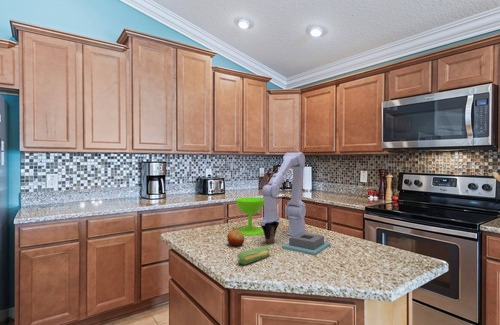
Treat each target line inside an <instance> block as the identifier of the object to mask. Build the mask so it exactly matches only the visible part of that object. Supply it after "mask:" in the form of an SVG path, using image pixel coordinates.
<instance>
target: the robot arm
mask: <svg viewBox="0 0 500 325" xmlns="http://www.w3.org/2000/svg"><path fill="white" fill-rule="evenodd" d="M305 164H306V157H305V154H304V153H303V152H285V154H284V155H283V157H282V163H281V165H280V167H279V169H278V171H277V172H276V173H273V174H272V176H271V178H270V180H269V181H268V183H267V184H265V185H264V186H263V187H262V189H261V195H262V196H263V198H262V199H264V205H263V207H264V208H263V212H264V214H263V216H264V217H262V218H261V219H262V220H260V221H259V226H260V228H261V229H263V231H264V233H263V234H264V238H265V240H266V239H270V233H271V228H272V226H274V238H275V237H276V234H277V230H278V227H279V225H280V222H279V221H280V216H278V215H277V197H278V196H279V194H280V187H281V186H282V184H283V182H284V180H285V178H284V176H285V175H286V173H287V172H288V171H289V169H292V171H293V174H292V184H291V198H290V200H288V201H287V204H286V207H285V210H284V211H285V215H286V216H287V218H288V232H286V233H285V236H286V235H287V236H290V237H292V236H294V235H296V234H298V233H300V232H302V233H307V232H306V221H305V216H306V213H307V210H306V203H305V202H303V201H302V193H303V180H304V169H305V167H306V166H305Z"/></svg>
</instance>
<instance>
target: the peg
mask: <svg viewBox="0 0 500 325" xmlns="http://www.w3.org/2000/svg"><path fill="white" fill-rule="evenodd" d="M265 243H266V244H268V245H273V244H275V237H274V226H272V228H271V233H270V239H265Z"/></svg>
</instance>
